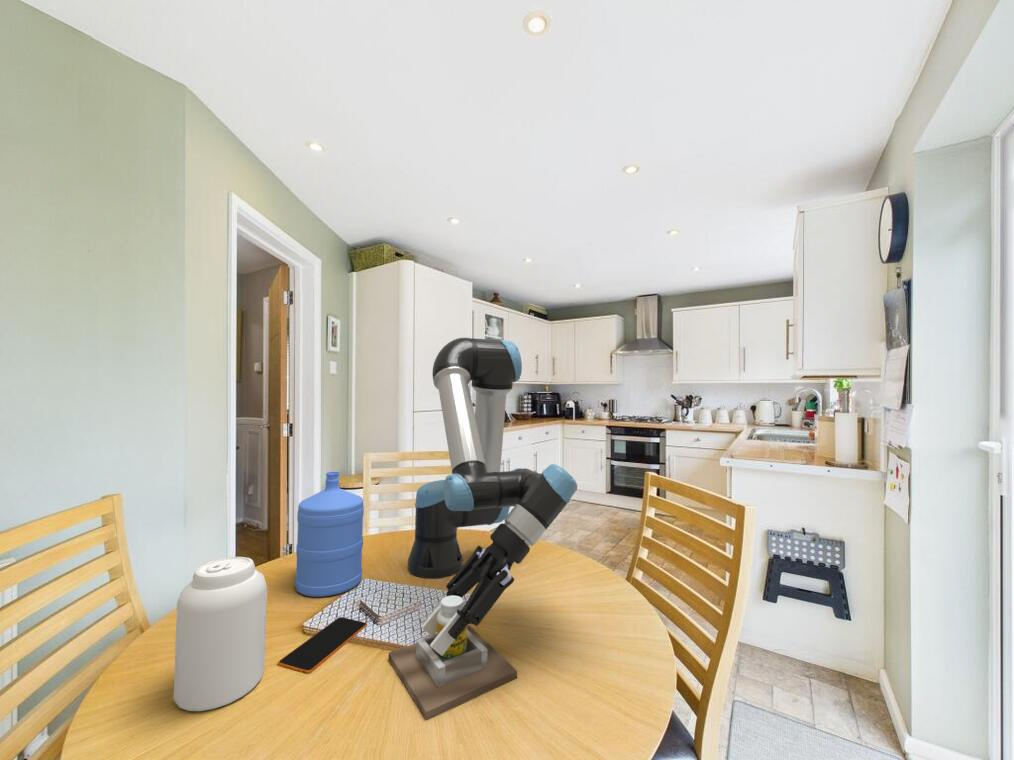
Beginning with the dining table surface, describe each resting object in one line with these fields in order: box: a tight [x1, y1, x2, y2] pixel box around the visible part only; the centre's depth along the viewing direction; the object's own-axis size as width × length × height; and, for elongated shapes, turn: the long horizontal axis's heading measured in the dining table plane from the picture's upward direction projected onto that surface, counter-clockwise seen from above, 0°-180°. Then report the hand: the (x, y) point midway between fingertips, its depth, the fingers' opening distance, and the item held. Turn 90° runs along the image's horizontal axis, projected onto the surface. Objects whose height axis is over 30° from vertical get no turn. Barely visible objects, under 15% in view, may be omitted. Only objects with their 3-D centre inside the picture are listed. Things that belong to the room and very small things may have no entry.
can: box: [173, 556, 268, 712], centre depth 70 cm, size 12×12×20 cm
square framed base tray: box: [387, 624, 518, 721], centre depth 75 cm, size 17×17×4 cm
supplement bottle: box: [436, 595, 467, 662], centre depth 75 cm, size 5×5×10 cm
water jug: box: [294, 471, 365, 598], centre depth 107 cm, size 16×16×28 cm
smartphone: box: [277, 616, 368, 675], centre depth 82 cm, size 8×17×1 cm, turn 162°
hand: (431, 640), depth 74 cm, fingers closed on supplement bottle, 5 cm apart
